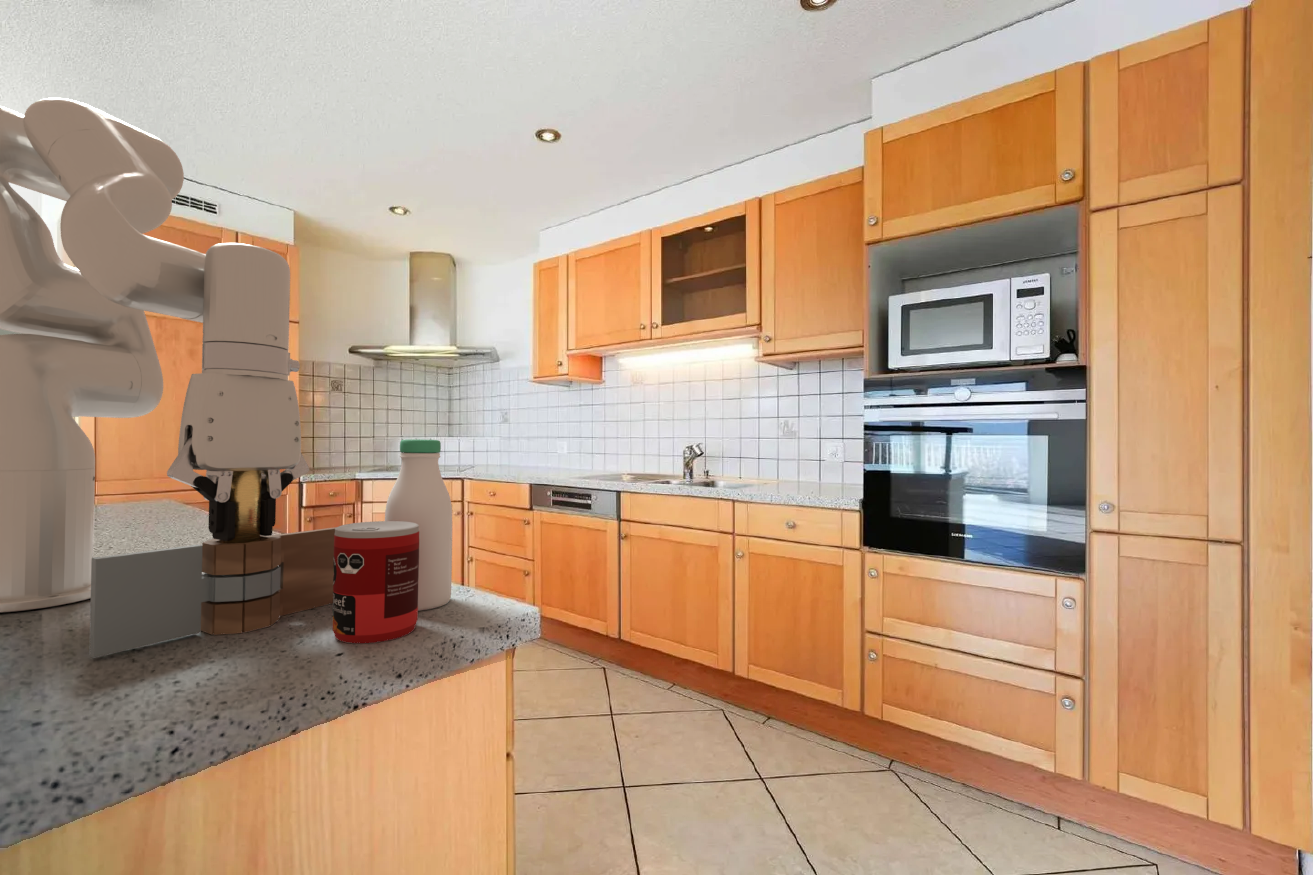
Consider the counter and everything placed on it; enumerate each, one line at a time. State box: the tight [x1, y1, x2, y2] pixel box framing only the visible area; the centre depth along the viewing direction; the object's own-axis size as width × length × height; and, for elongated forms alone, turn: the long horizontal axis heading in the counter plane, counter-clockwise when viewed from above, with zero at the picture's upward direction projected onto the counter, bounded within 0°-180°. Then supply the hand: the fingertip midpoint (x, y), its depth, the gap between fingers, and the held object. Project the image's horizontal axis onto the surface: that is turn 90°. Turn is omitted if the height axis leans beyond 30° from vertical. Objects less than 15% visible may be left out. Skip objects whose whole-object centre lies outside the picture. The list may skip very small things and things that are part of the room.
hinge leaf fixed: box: [201, 526, 338, 636], centre depth 66 cm, size 6×16×9 cm, turn 151°
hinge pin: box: [225, 470, 261, 544], centre depth 62 cm, size 3×3×10 cm
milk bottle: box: [384, 438, 453, 612], centre depth 70 cm, size 8×8×20 cm
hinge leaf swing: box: [88, 544, 281, 659], centre depth 58 cm, size 6×15×9 cm, turn 151°
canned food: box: [332, 520, 419, 644], centre depth 60 cm, size 8×8×11 cm
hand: (242, 535), depth 62 cm, fingers closed on hinge pin, 3 cm apart
